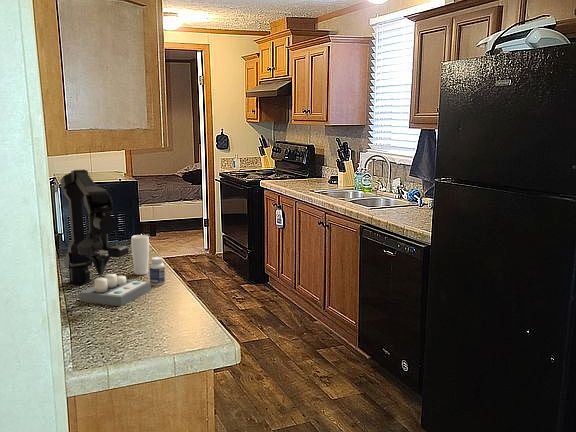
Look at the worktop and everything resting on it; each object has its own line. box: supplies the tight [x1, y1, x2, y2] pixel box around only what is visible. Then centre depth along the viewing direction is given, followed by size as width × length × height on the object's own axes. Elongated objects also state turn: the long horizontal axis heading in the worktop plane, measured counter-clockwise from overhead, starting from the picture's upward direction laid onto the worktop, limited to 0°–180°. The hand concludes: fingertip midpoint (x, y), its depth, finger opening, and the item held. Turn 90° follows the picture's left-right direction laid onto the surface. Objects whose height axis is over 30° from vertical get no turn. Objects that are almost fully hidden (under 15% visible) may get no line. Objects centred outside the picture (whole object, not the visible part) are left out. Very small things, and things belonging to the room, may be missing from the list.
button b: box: [104, 273, 118, 288], centre depth 186 cm, size 4×4×4 cm
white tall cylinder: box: [130, 234, 150, 276], centre depth 212 cm, size 7×7×15 cm
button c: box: [117, 275, 127, 285], centre depth 191 cm, size 4×4×4 cm
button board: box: [79, 279, 152, 307], centre depth 186 cm, size 16×18×3 cm
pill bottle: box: [149, 256, 166, 286], centre depth 200 cm, size 5×5×10 cm
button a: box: [94, 277, 108, 292], centre depth 181 cm, size 4×4×4 cm
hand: (100, 274), depth 180 cm, fingers closed
